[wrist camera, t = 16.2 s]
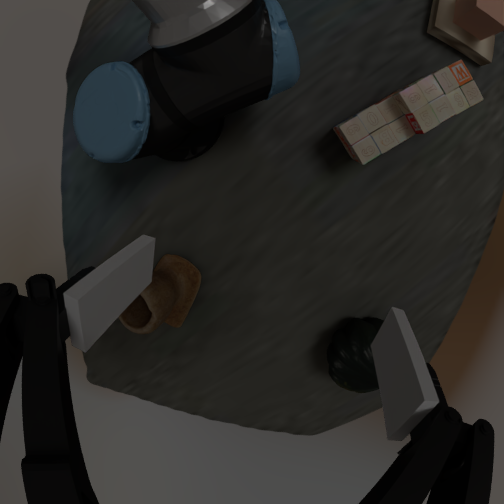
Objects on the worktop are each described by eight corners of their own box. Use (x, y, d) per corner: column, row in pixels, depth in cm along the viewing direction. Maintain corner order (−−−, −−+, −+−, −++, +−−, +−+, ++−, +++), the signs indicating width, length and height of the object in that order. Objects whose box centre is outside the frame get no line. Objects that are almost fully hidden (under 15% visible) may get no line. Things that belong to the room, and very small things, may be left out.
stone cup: (158, 239, 56) (116, 271, 42) (211, 270, 57) (181, 312, 43) (138, 294, 62) (101, 333, 49) (183, 322, 63) (155, 368, 49)
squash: (299, 358, 54) (344, 419, 44) (347, 300, 49) (404, 364, 38) (339, 350, 63) (379, 399, 53) (380, 301, 58) (428, 351, 48)
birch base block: (426, 32, 33) (434, 25, 29) (434, -12, 28) (442, -20, 24) (480, 65, 32) (491, 62, 29) (486, 20, 27) (496, 15, 24)
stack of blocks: (352, 160, 45) (366, 168, 33) (331, 127, 43) (339, 124, 32) (449, 104, 37) (485, 99, 26) (430, 73, 36) (462, 58, 25)
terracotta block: (452, 22, 28) (476, 6, 20) (455, -1, 25) (477, -19, 17) (480, 40, 28) (507, 28, 19) (483, 17, 25) (508, 3, 17)
